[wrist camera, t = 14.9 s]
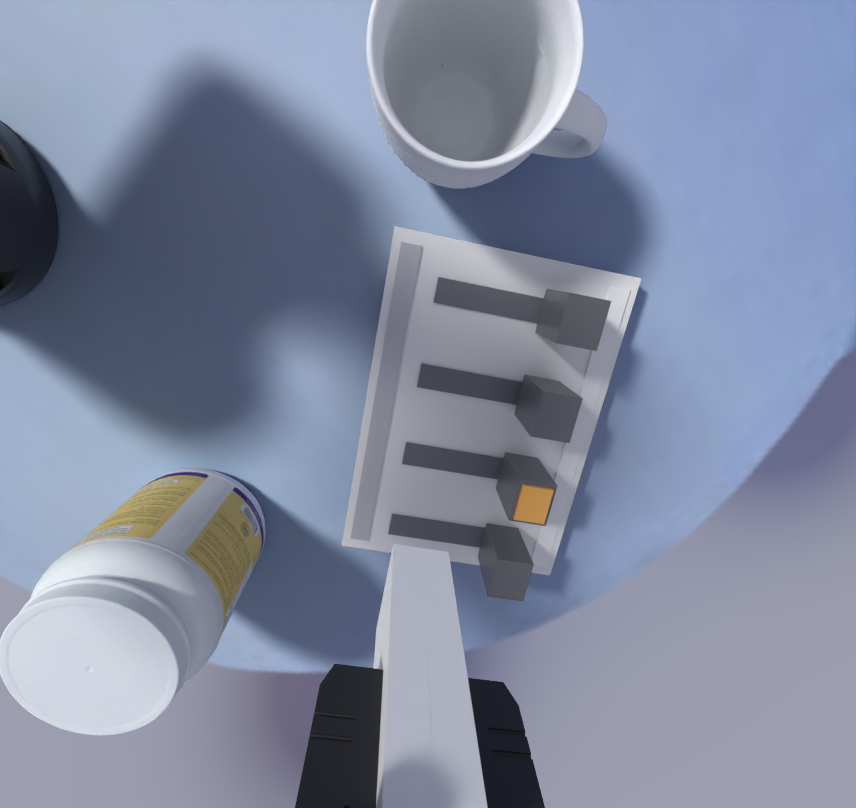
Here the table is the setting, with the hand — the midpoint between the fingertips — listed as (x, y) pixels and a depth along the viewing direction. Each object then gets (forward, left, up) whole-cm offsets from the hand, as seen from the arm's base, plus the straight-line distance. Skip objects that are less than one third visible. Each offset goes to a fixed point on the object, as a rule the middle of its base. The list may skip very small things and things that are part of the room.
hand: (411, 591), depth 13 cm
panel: (+7, -3, -29) cm, 30 cm away
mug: (+1, +19, -30) cm, 35 cm away
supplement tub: (-16, -18, -30) cm, 38 cm away
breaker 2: (+11, 0, -27) cm, 29 cm away
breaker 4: (+11, -14, -27) cm, 32 cm away
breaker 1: (+11, +7, -27) cm, 30 cm away
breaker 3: (+11, -7, -27) cm, 30 cm away
